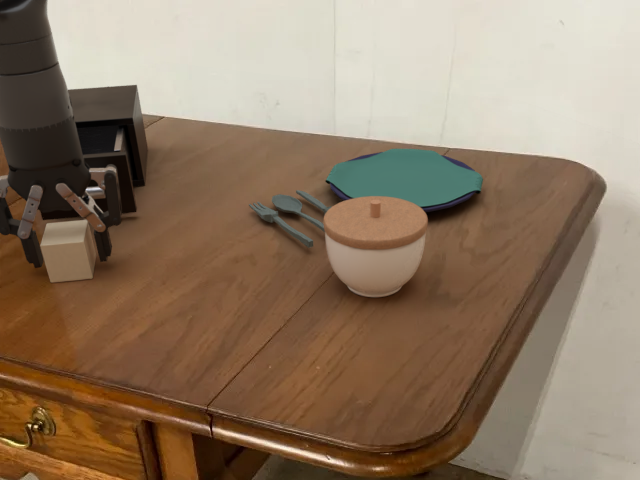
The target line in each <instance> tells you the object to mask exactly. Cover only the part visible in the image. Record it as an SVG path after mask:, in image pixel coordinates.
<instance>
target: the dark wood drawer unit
mask: <svg viewBox="0 0 640 480" xmlns="http://www.w3.org/2000/svg"><path fill="white" fill-rule="evenodd" d="M68 93H69V95H70V97H71V101H72V110H73V115H74V119H75V124H76V128H77V129H79V128H92V127H105V126H119V125H126V130H127V135H128V141H129V146H130V151H131V157H132V162H133V167H134V174H133V183H132V185H133V188H134V187H135V188H136V187H146V180H147V179H146V178H147V164H148V152H149V147H148V141H147V136H146V128H145V124H144V117H143V112H142V106H141V100H140V96H139V89H138V85H137V84H129V85H128V84H127V85H114V86H100V87H99V86H98V87H86V88H85V87H84V88H70V89H68Z"/></svg>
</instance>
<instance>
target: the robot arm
mask: <svg viewBox="0 0 640 480" xmlns="http://www.w3.org/2000/svg"><path fill="white" fill-rule="evenodd" d="M49 20H50V19H49V15H48V0H0V142H1V146H2V149H3V154H4V156H5V161H6V163H7V167H8V174H5V175H0V234H1V235H3V236H8V235H12V236H16V237H17V238H18V239H19V240H20V243H21V246H22V250H23V253H24V257H25V259H26V261H27V262H28V264H30V265H31V264H33V267H34V269H41V268H43V265H44V258H43V254H42V251H41V247H40V241H39V238H38V234H37V231H36V230H35V229H33V226H34V222H35V220H36V216H37V213H38V211H39V212H40V211H42V213H46V212H52V211H54V210H62V211H69V210H72V208H74V209H75V210H76V211H77V213H78V214H79V215H80V216H81V217H80V218H82V219H84V220H87V221H88V222H89V226H90V227H92V228H93V229H94V230H93V237H94V241H95V246H96V250H97V254H98V259H99V262H100V263H105V262H108V258H109V257H111V256H112V250H113V243H112V239H111V235H110V231H109V229H110V227H113V226H119V225H120V224H121V223H122V214H123V213H122V206H121V198H120V189H119V181H118V173H117V168H116V166H114V165H112V164H109V165H107V166H106V168H90V167H89V165H88V164H87V163H86V162H85V160H84V158H83V154H82V150H81V145H80V141H79V137H78V132H77V128H76V124H75V119H74V115H73V110H72V101H71V97H70V95H69V93H68V90H69V89H68V85H67V82H66V80H65V76H64V74H63V71H62V68H61V65H60V62H59V59H58V58H59V57H58V52H57V48H56V44H55V39H54V35H53V31H52V27H51V24H50V21H49ZM91 180H95V181H96V182H97V183H98V186H99V188H101V189H102V190H106V197H107V204H108V211H106V212H104V213H103V211H102V210H101V209H100V208H99V207H98V206H97V205H96V203H95V201H94V199H93V198H92V197H91V196H90V194H89V193H88V192H87V191H86V189H87V187H88V185H89V183H90V181H91ZM9 187H10V188H11V189H12V190H13V191H14V192H15V193H16V194H17V195H19V196H20V197H21V198H22V199H23V200H24V201H25V202H26V203H25V206H24V210H23V213H22V216H21V219H16V218H14V217H13V214H12V212H11V210H10V207H9V204H8V201H7V198H6V197H7V194H8V191H9V190H8V188H9Z"/></svg>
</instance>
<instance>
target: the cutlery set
mask: <svg viewBox="0 0 640 480" xmlns="http://www.w3.org/2000/svg"><path fill="white" fill-rule="evenodd" d="M324 181H325V183H326V184H327V185H330V186H329V187H330V189H331V191H332V192H333V193H334V194H335V195H336V196H337V197H338V198H339V199H341V200H343V201H346V200H349V199H353V198H359V197H368V196H385V197H393V198H399V199H403V200H406V201H409V202H412V203H414V204H416V205H418V206H419V207H420V208H422V209H423V210H424V212H425V213H430V212H434V211H439V210H440V211H441V210H445V209H449V208H452V207H454V206H456V205H458V204H461V203H463V202H466V201H468V200H469V199H470V198H471V197H473V195H475V194H476V195H478V194H481V193H482V188H483V187H482V186H483V182H484V178H483V176H482V174H481V173H479V172H478V171H475V169H474V168H472V167H471V166H469V165H467V164H466V163H465V162H463V161H461V160H458V159H455V158H452V157H449V156H447V155H444V154H443V155H442V154H439V153H438V152H436V151H435V150H433V149H431V150H430V149H419V148H390V149H387V150H384V151H380V152H374V153H368V154H364V155H363V154H362V155H359V156H357V157H355V158H352V159H348V160H346V161H342V162H338V163H336V164H335V165H333V166H332V168H331V170H330V172H329V173H328V175H327V177H326V179H325V180H324ZM295 194H296V195H298V196H299V197H301V198H303V199H304V200H306V201H307V202H309V203H310V204H312V205H313V206H315V207H316V208H318V209H319V210H321V211H322V212H323V217H324V216H325V214H326V212H327V211H328V210H329V209H330V208H331V207H332V206H326V205H325V204H324V203H323V202H321V201H320V200H319V199H317V198H316V197H315V196H313V195H311V194H310V193H308V192H306V191H303V190H300V189H296V190H295ZM271 203H272V204H273V205H274V206H275V208H276V209H278V210H274V209H272V208H270V207H268V206H266V205H264V204H262V203H261V202H260V201H257V202H256V203H255V202H253V203H252V204H251V203H248V207H250V209H251V210H253V211H254V212H255V213H256V214H257V215H258V216H259V217H260V219H262V220H264V222H268V223H271V224H272V223H276V224H277V225H278V226H279V227H280V229H282V230H283V231H284V232H286V233H287V234H289V236H291V237H293V238H294V239H296V240H297V241H299V242H300V243H302V245H304V246H305V247H306V248H308V249H310V248H313V247H314V240H313V239H312V238H310V237H309V236H307V234H304V233H303V232H300V231H299V230H297V229H295V228H293V226H290V225H289V224H288V223H287V222H286V221H284V219H283V218H281V217H279V211H281V212H283V213H284V214H285V213H286V214H296V215H298V216H300V217H301V218H303V219H304V220H306V221H307V222H308V223H311V224H312V225H314V226H315V227H317V228H318V229H319V230H320V231H322V232H323V233H325V230H324V222H321V221H320V220H318V219H316V218H314V217H312V216H310V215H309V214H306V213H304V212H302V207H303V203H302V202H301V201H300V200H299V199H298V198H296V197H294V196H292V195H288V194H281V193H278V194H275V195H272V196H271Z"/></svg>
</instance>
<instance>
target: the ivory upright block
mask: <svg viewBox="0 0 640 480" xmlns="http://www.w3.org/2000/svg"><path fill="white" fill-rule="evenodd" d="M39 245H40V248H41V252H42V255H43V262H44V265H45V268H46V271H47V275H48V279H49V282H50V283H53V284H54V283H62V282H64V283H65V282H73V281H74V282H75V281H82V280H92V279H93V278H94V272H95V267H96V266H95V265H96V260H97V252H96V248H95V244H94V240H93V235H92V231H91V226H90V223H89V222H88V221H87V220H86V219H81V220H80V219H79V220H69V221H68V220H67V221H57V222H47V223H46V224H45V227H44V231H43V234H42V238H41V241H40V243H39Z"/></svg>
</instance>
